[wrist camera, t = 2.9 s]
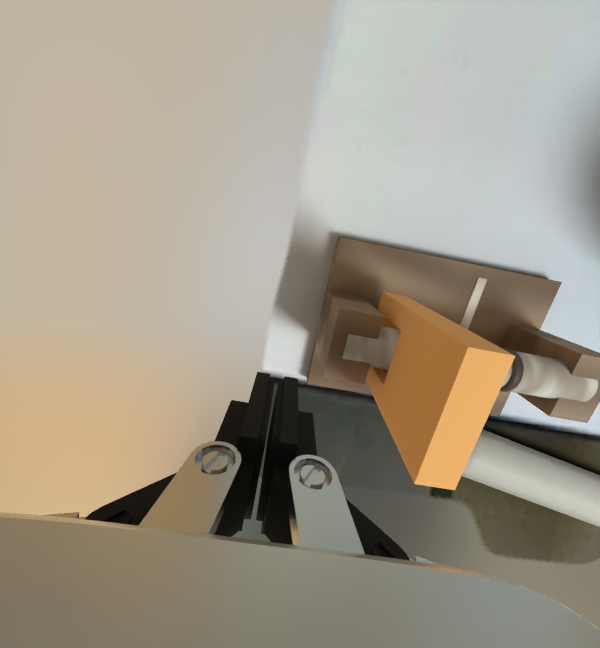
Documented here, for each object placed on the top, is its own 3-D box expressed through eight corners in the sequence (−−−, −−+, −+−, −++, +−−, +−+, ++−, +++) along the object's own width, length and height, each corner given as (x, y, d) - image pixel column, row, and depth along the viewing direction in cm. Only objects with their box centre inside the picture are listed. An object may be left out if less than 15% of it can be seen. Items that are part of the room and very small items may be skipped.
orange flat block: (382, 291, 23) (468, 347, 11) (406, 296, 23) (515, 355, 11) (360, 369, 25) (414, 483, 13) (382, 373, 25) (454, 490, 13)
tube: (436, 479, 28) (635, 552, 31) (475, 454, 25) (691, 536, 28) (424, 433, 32) (599, 500, 35) (455, 406, 29) (644, 481, 32)
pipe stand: (338, 236, 25) (358, 236, 17) (550, 280, 26) (666, 300, 18) (307, 377, 29) (310, 433, 21) (491, 409, 30) (564, 474, 22)
